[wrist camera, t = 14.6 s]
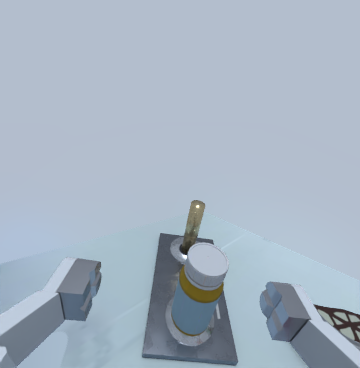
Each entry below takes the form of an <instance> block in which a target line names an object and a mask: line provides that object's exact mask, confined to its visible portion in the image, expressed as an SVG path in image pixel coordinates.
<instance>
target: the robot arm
mask: <svg viewBox="0 0 360 368" xmlns="http://www.w3.org/2000/svg"><path fill="white" fill-rule="evenodd" d="M100 268H101V262H99V261H92V260H85V259H78V258H71V257H66V258H65V259H64V260H63V261H62V262H61V264H60V265H59V266H58V268H57V269H56V271H55V272H54V274H53V275H52V276H51V278H50V279H49V281H48V282H47V284H46V285H45V286H44V288H43V289H42V291H36V292H35V293H33V294H32V295H30V296H29V297H27V298H25V299H24V300H22V301H21V302H19V303H18V304H16V305H15V306H13V307H11V308H10V309H8V310H7V311H5V312H4V313H2V314H1V315H0V368H16V367H17V366H18V365H19V364H20V363H21V362H22V361H23V360H24V359H25V358H26V357H27V356H28V355H29V354H30V353H31V352H33V350H35V349H36V348H37V347H38V346H39V345H40V344H41V343H42V342H43V341H44V340H45V339H46V338H47V337H48V336H49V335H50V334H51V333H52V332H54V331H55V330H56V329H57V328H58V327H59V326H60V325H61V324H62V323H63V322H64V320H77V321H86V318H87V316H88V314H89V311H90V309H91V306H92V298H93V297H94V296H96V294H97V292H98V289H99V286H100V283H101V272H100V271H99V270H100ZM260 307H261V310H262V313H263V314H264V315H265V316H266V317H267V322H266V324H267V327H268V330H269V332H270V335H271V338H272V340H278V341H286V342H290V344H291V345H292V346H293V348H294V349H295V350H296V351H297V353H298V354H299V355H300V356H301V358H302V359H303V360H304V362H305V363H306V364H307V365H308V367H309V368H360V351H359V350H358V349H357V348H356V347H355V346H354V345H353V344H351V343H350V342H349V341H348V340H347V339H346V338H345V337H343V336H342V335H341V334H340V333H339V332H338V331H337V330H335V329H334V328H333V327H332V326H331V325H330V324H329V323H327V322H324V321H323V320H322V318H321V316H320V315H319V313H318V312H317V310H316V308H315V307H314V305H313V303H312V302H311V300H310V298H309V297H308V295H307V294H306V292H305V290H304V289H303V287H301V286H300V285H294V284H288V283H278V282H268V283H267V284H266V290H265V291H263V292H262V293H261V295H260Z"/></svg>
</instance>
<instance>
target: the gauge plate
mask: <svg viewBox="0 0 360 368" xmlns="http://www.w3.org/2000/svg"><path fill="white" fill-rule="evenodd" d="M204 209H205V204H204V203H203V202H201V201H198V200H194V201H192V202H191V206H190V211H189V215H188V220H187V225H186V229H185V234H184V236H179V235H171V234H163V233H160V240H159V247H158V254H157V260H156V267H155V274H154V281H153V287H152V294H151V301H150V308H149V315H148V321H147V328H146V335H145V342H144V348H143V355H142V357H145V358H157V359H169V360H180V361H192V362H204V363H215V364H227V365H236V364H237V363H238V359H237V354H236V349H235V345H234V340H233V335H232V330H231V325H230V320H229V316H228V311H227V306H226V301H225V296H224V291H222V294H221V296H220V299H219V301H218V303H217V306H216V308H215V311H214V313H213V315H212V318H211V320H210V323H209V325H208V327H207V328H206V330H205V331H204V332H203V333H202V334H200V335H198V336H187V335H185V334H183V333H181V332H180V331H179V330H178V329H177V328H176V326H175V325H174V323H173V320H172V316H171V310H172V304H173V300H174V296H175V291H176V287H177V283H178V279H179V275H180V272H181V269H182V267H183V266H184V265H185V262H186V258H187V254H188V251H189V249H190V248H191V247H192V246H193V245H194V244H197V243H210V244H213V245H214V243H213V240H210V239H202V238H197V236H198V232H199V228H200V224H201V220H202V216H203V212H204Z"/></svg>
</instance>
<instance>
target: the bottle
mask: <svg viewBox="0 0 360 368" xmlns="http://www.w3.org/2000/svg"><path fill="white" fill-rule="evenodd" d="M228 267H229V261H228V258H227V256H226V254H225V253H224V252H223V251H222V250H221V249H220V248H218V247H217V246H215V245H213V244H210V243H197V244H194V245H193V246H192V247H191V248H190V249H189V251H188V254H187V258H186V262H185V265H184V266H183V267H182V269H181V272H180V275H179V279H178V283H177V287H176V291H175V296H174V300H173V304H172V310H171V316H172V320H173V323H174V325H175V326H176V328H177V329H178V330H179V331H180V332H181V333H183V334H185V335H187V336H198V335H200V334H202V333H203V332H204V331H205V330H206V328H207V327H208V325H209V323H210V320H211V318H212V315H213V313H214V311H215V308H216V306H217V303H218V301H219V299H220V296H221V294H222V291H223V286H224V284H223V280H224V278H225V276H226V273H227V271H228Z"/></svg>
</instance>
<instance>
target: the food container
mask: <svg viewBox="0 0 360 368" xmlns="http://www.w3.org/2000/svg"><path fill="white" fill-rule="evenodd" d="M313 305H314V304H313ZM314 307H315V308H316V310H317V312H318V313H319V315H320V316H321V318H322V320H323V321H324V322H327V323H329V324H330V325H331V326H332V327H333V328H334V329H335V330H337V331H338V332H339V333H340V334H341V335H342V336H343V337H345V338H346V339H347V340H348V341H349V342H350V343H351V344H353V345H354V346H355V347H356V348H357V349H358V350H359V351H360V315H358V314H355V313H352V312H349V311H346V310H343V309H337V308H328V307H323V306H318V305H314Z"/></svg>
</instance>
